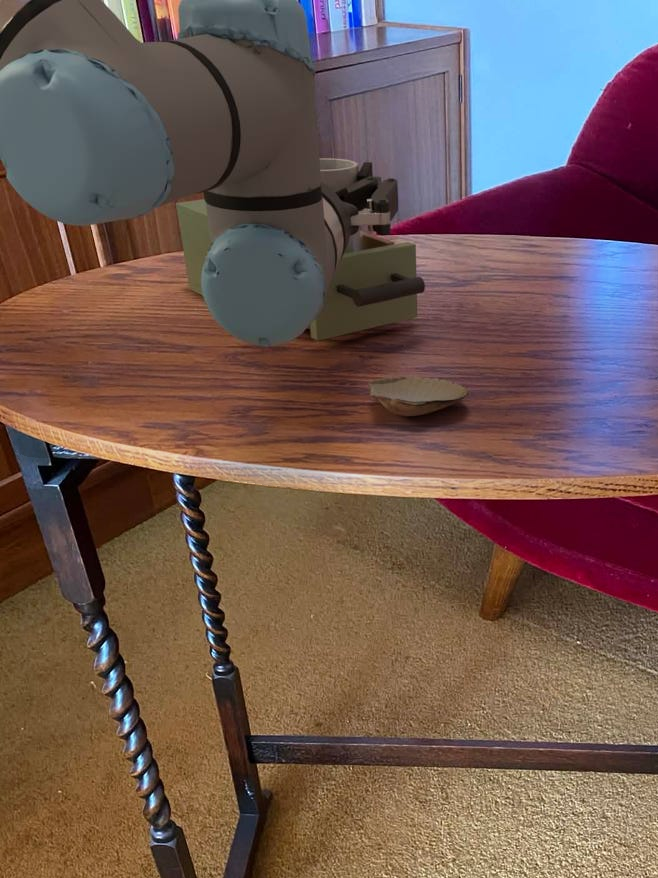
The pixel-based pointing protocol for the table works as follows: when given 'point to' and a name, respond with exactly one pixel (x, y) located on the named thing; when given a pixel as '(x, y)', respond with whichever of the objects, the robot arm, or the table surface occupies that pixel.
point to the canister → (342, 176)
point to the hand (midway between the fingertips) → (333, 177)
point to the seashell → (416, 394)
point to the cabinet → (194, 239)
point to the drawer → (370, 289)
